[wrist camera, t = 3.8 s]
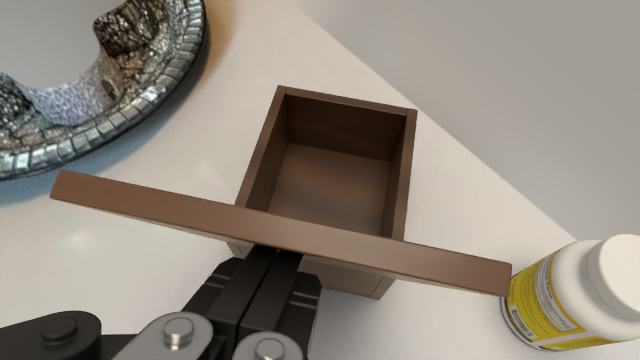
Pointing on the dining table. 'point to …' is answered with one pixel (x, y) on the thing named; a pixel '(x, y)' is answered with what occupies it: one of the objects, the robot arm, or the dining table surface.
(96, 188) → the lid
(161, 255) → the dining table surface
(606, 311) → the pill bottle
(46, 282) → the dining table surface
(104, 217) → the dining table surface
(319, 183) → the chest
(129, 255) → the dining table surface
